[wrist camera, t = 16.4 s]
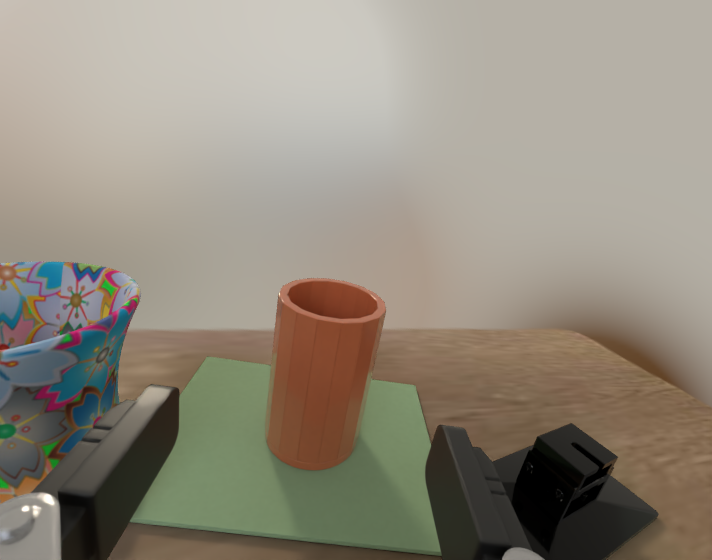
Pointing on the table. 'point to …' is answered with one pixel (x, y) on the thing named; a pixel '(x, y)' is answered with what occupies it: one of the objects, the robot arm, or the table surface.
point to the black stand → (571, 497)
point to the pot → (321, 370)
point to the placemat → (293, 470)
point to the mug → (56, 361)
